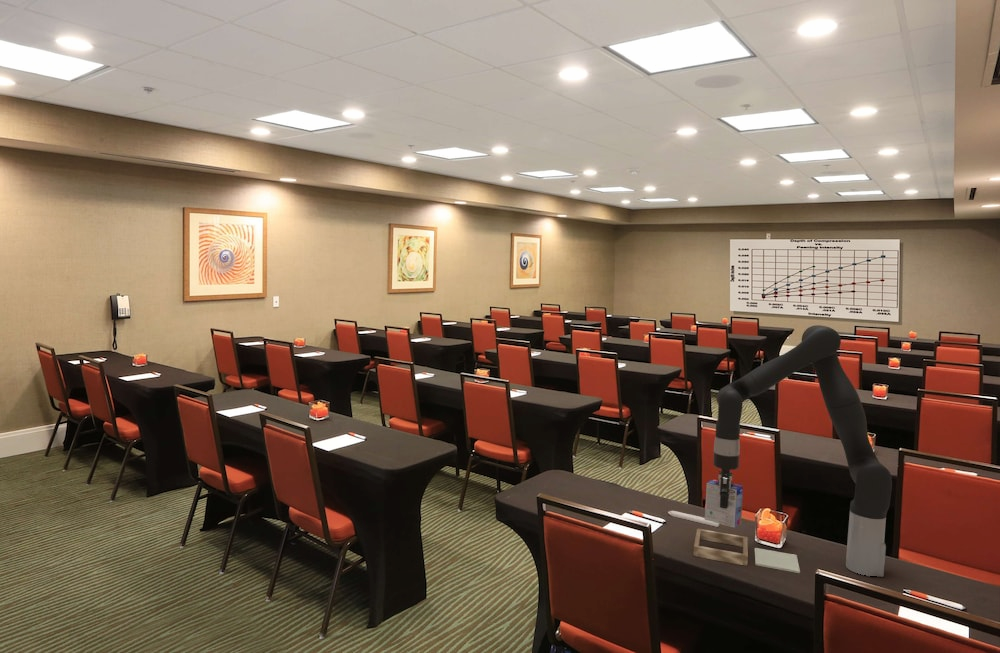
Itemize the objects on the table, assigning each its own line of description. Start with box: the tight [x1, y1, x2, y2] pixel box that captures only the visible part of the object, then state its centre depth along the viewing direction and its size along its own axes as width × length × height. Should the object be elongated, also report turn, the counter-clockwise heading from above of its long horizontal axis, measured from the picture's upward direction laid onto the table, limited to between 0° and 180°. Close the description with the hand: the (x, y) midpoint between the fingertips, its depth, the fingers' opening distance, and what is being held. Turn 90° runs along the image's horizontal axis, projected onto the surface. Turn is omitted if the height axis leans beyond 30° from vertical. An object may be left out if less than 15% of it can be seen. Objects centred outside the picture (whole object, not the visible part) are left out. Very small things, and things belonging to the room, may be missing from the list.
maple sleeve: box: [692, 528, 749, 567], centre depth 191 cm, size 15×15×3 cm
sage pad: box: [754, 547, 801, 574], centre depth 185 cm, size 12×12×1 cm
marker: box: [667, 510, 720, 528], centre depth 216 cm, size 18×2×2 cm, turn 56°
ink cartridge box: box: [704, 479, 744, 529], centre depth 190 cm, size 10×6×14 cm, turn 48°
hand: (723, 504), depth 190 cm, fingers closed on ink cartridge box, 6 cm apart
